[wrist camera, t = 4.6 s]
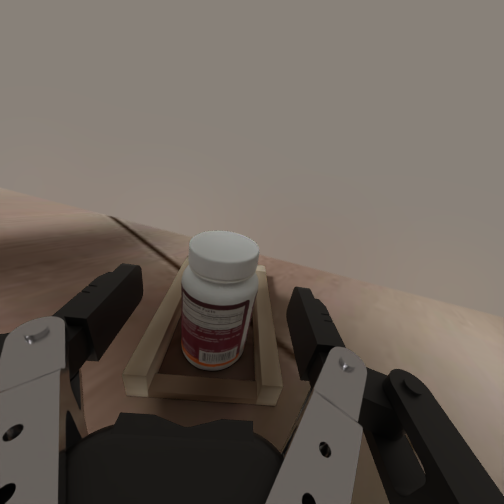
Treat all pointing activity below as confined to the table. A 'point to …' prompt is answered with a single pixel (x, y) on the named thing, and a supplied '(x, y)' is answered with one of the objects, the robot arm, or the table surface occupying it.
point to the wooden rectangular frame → (203, 388)
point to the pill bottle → (218, 298)
